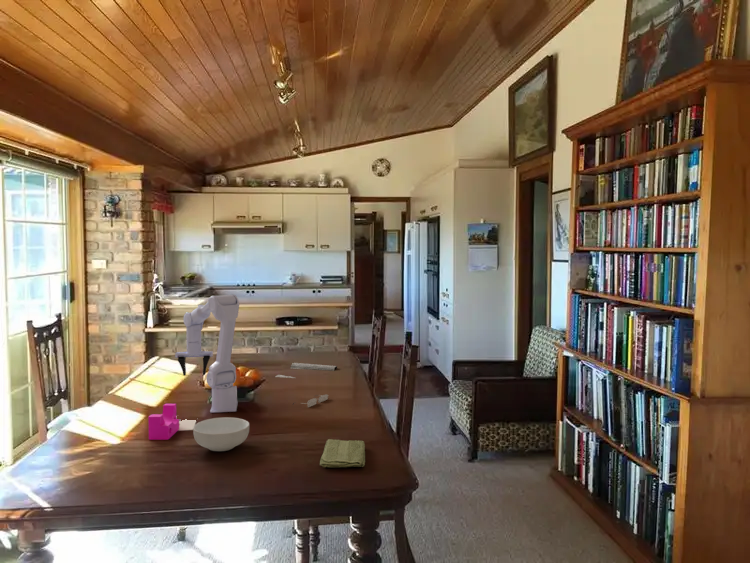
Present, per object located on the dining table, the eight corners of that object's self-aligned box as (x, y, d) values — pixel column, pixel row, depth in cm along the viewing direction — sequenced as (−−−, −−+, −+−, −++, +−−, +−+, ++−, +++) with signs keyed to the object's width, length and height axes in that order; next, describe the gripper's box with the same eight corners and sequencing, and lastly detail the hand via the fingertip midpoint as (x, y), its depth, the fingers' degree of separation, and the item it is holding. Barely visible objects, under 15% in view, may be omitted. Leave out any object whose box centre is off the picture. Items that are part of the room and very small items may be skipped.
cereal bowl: (219, 461, 163) (219, 437, 163) (181, 450, 172) (181, 427, 172) (260, 444, 178) (260, 422, 177) (223, 434, 186) (223, 413, 186)
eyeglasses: (306, 411, 216) (306, 400, 215) (290, 408, 220) (290, 397, 220) (328, 402, 227) (328, 393, 227) (313, 400, 232) (313, 390, 231)
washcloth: (318, 469, 158) (318, 458, 158) (325, 447, 176) (325, 437, 176) (364, 469, 158) (365, 458, 158) (367, 447, 176) (367, 437, 176)
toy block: (168, 439, 181) (167, 416, 181) (148, 439, 181) (148, 416, 181) (183, 424, 196) (183, 403, 196) (165, 424, 196) (165, 403, 196)
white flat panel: (199, 413, 211) (199, 412, 211) (192, 430, 191) (192, 429, 191) (160, 415, 208) (160, 414, 208) (149, 432, 189) (149, 431, 189)
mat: (274, 382, 262) (273, 372, 262) (294, 371, 285) (294, 362, 285) (320, 385, 256) (320, 375, 256) (337, 373, 279) (337, 364, 278)
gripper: (213, 339, 234) (213, 371, 235) (176, 340, 231) (177, 373, 232) (211, 342, 227) (212, 375, 228) (174, 343, 224) (174, 376, 225)
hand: (194, 374), depth 229 cm, fingers open, 7 cm apart
